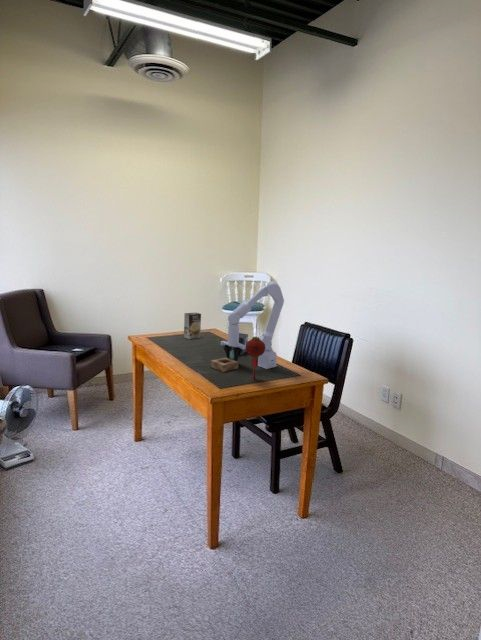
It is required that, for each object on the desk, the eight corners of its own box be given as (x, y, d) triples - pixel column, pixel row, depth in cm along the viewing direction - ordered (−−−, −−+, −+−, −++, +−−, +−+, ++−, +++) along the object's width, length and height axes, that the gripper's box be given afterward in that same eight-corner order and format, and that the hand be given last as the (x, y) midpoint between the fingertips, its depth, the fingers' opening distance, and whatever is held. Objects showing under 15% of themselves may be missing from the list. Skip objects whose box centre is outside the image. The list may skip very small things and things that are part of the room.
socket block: (238, 368, 216) (238, 361, 215) (223, 372, 209) (223, 365, 209) (225, 363, 223) (225, 357, 223) (210, 366, 217) (210, 360, 216)
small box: (242, 355, 240) (243, 337, 238) (231, 354, 242) (232, 336, 240) (248, 351, 250) (248, 333, 248) (237, 349, 252) (238, 332, 250)
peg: (236, 363, 224) (237, 351, 222) (232, 364, 222) (232, 352, 220) (232, 362, 226) (233, 349, 225) (228, 363, 224) (228, 350, 223)
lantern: (243, 375, 206) (245, 314, 200) (262, 375, 207) (265, 315, 201) (244, 381, 197) (247, 318, 191) (265, 381, 198) (268, 318, 192)
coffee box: (189, 339, 272) (189, 314, 269) (183, 337, 277) (183, 313, 274) (200, 337, 278) (201, 313, 275) (195, 335, 283) (195, 312, 280)
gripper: (249, 336, 220) (248, 361, 223) (226, 331, 228) (225, 356, 231) (241, 338, 215) (240, 364, 217) (218, 333, 222) (218, 358, 225)
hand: (232, 360), depth 223 cm, fingers open, 4 cm apart
